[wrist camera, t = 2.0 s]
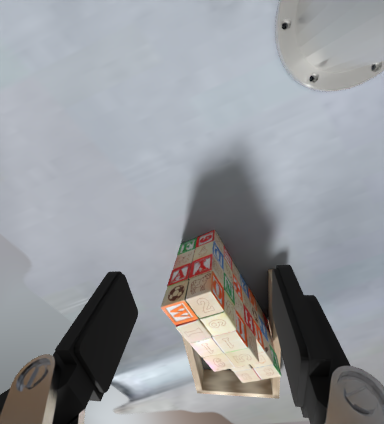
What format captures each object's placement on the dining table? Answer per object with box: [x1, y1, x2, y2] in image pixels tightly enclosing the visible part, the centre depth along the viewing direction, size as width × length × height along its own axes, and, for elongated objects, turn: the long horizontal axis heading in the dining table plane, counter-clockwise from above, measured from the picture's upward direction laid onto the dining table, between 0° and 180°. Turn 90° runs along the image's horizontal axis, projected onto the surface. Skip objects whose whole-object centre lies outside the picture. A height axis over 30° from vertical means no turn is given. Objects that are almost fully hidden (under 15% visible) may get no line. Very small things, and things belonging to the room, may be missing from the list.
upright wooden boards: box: [182, 269, 281, 398], centre depth 39 cm, size 16×29×4 cm, turn 9°
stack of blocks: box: [161, 230, 281, 383], centre depth 31 cm, size 21×6×12 cm, turn 30°
